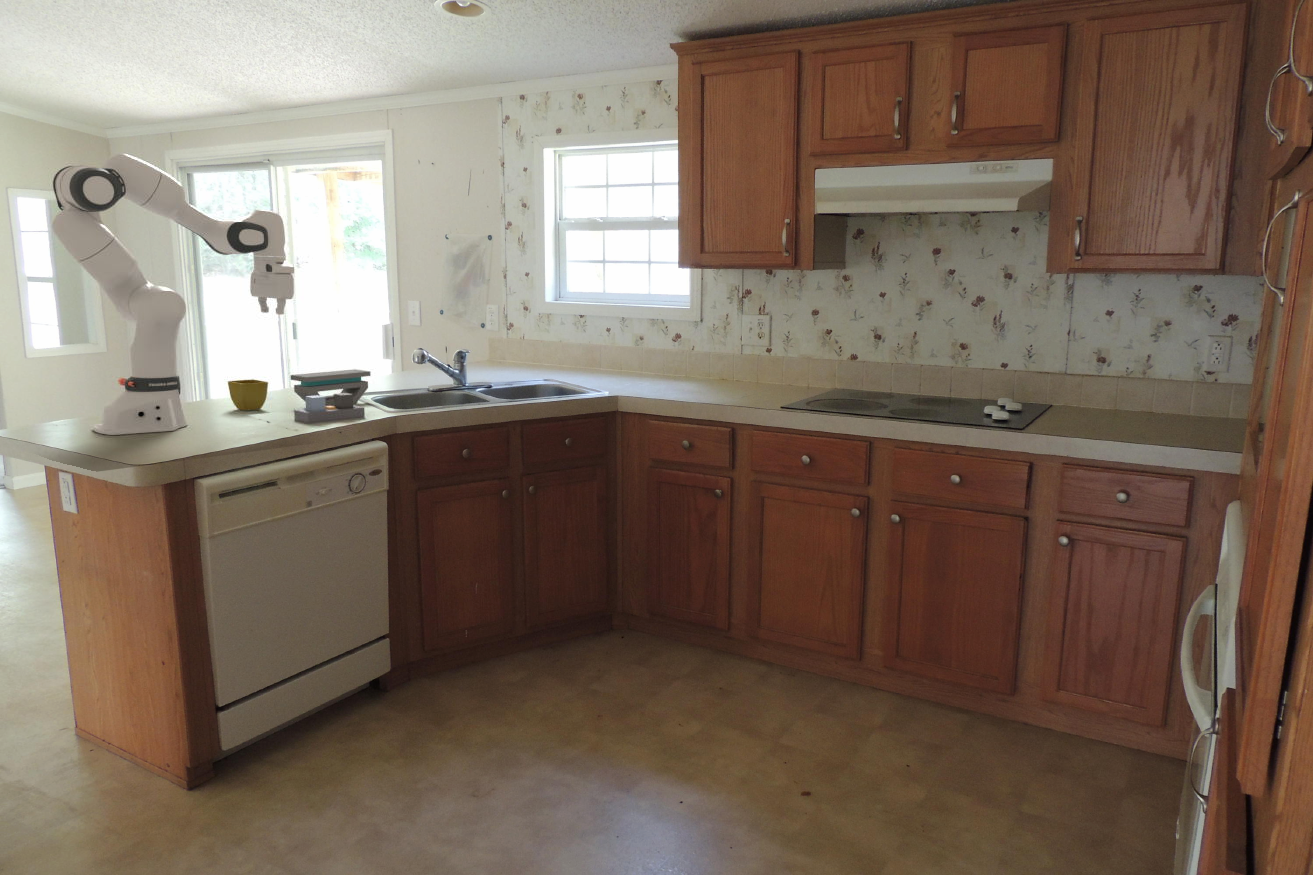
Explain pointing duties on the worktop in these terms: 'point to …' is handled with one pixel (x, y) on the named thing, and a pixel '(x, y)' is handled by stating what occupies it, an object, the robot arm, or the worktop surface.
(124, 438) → the worktop surface
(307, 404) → the plug
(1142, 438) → the worktop surface
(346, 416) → the strip
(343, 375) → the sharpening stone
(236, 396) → the flower pot
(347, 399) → the twin plug
